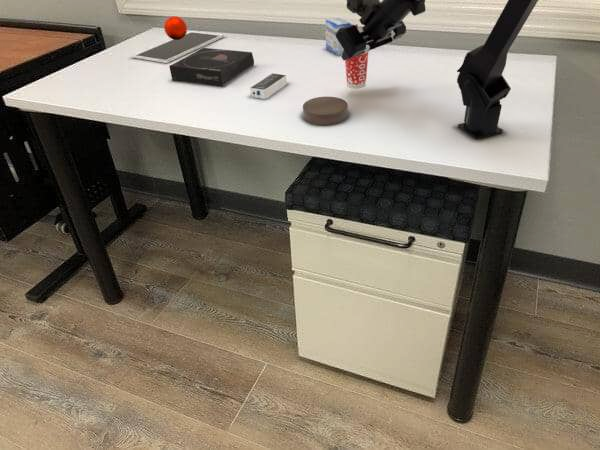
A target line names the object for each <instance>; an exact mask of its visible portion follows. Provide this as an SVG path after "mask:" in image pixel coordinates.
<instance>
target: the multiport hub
mask: <svg viewBox="0 0 600 450" xmlns="http://www.w3.org/2000/svg"><path fill="white" fill-rule="evenodd" d="M287 80H288V79H287V74H281V73H280V74H279V73H271V74H269V75H268V76H266V77H265V78H263V79H261V80H260V81H259V82H257V83H255V84H254V85H252V86H251V87H250V88H249V90H250V97H251V98H254V99H255V98H256V99H262V100H267V99H269V98H270V97H271V96H272V95H274V94H275V93H277V92H278V91H280V90H282V88H284V87H286V85H288V81H287Z"/></svg>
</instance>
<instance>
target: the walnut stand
mask: <svg viewBox="0 0 600 450" xmlns="http://www.w3.org/2000/svg"><path fill="white" fill-rule="evenodd" d="M348 109H349V104H348V101H346V100H345V99H343V98H341V97H336V96H319V97H317V96H316V97H313V98H310V99H308V100H307V101H305V102H304V103H303V104H302V117H303V120H304V121H306V122H307V123H309V124H311V125H315V126H331V125H335V124H336V125H337V124H340V123H342V122H344V121H345V120H346V119H347V118H348V115H349V114H348V113H349V110H348Z"/></svg>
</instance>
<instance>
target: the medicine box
mask: <svg viewBox="0 0 600 450" xmlns="http://www.w3.org/2000/svg"><path fill="white" fill-rule="evenodd" d="M350 24H352V22H350V21H346V20H344V19H342V18H340V17H331V18H327V19H325V49H326V50H327V51H329V52H331V53H333V54H334V55H337V56H342V53H343V47H342V46H341V44H340V43H339V41H338V40H337V38H336V36H335V35H336V32H337V31H338V30H339V29H340V28H341V27H344V26H347V25H350Z"/></svg>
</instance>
